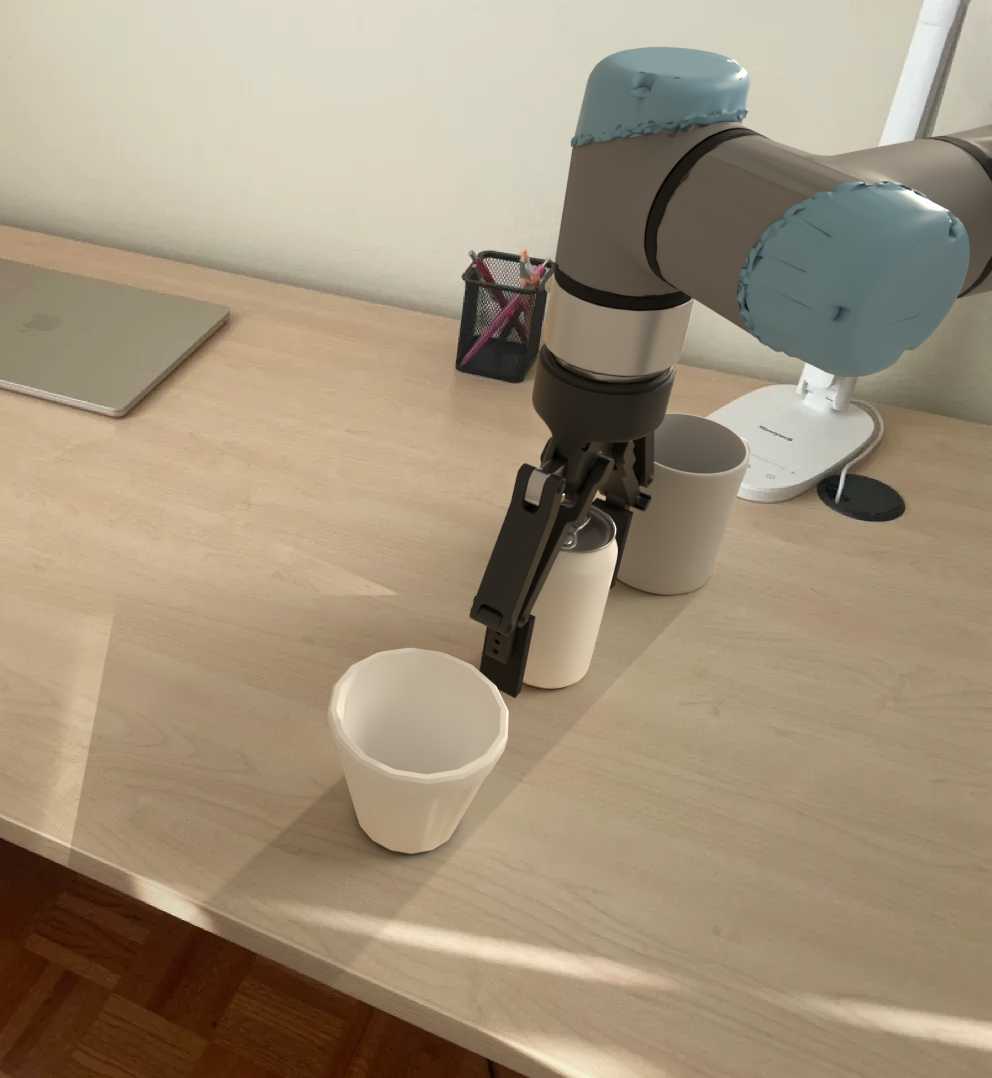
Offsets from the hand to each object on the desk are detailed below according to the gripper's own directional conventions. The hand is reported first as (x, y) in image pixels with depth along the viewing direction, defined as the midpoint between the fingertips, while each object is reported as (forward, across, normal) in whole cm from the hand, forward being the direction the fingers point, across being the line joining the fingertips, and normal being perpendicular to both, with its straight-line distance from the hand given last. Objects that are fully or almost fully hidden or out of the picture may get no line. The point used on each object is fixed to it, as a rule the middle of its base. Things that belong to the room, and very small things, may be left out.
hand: (549, 629), depth 72 cm
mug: (+3, -17, +2) cm, 17 cm away
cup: (+3, +17, 0) cm, 17 cm away
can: (+3, 0, 0) cm, 3 cm away
